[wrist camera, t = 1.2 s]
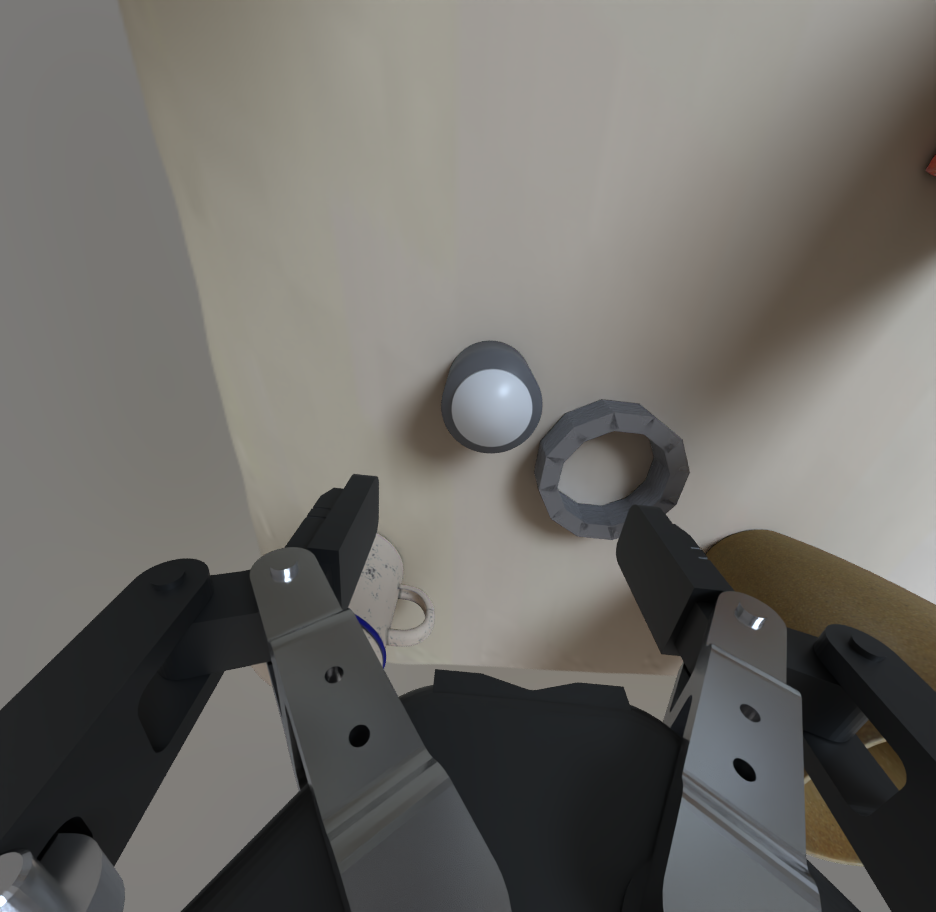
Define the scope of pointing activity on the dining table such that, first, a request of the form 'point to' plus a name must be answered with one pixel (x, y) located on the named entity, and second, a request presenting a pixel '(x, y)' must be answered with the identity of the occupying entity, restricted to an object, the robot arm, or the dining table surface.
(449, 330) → the dining table surface
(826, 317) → the dining table surface
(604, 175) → the dining table surface
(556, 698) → the robot arm
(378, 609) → the teacup with lid
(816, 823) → the plant pot
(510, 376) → the cap
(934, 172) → the cracker box
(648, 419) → the faceted grey ring
